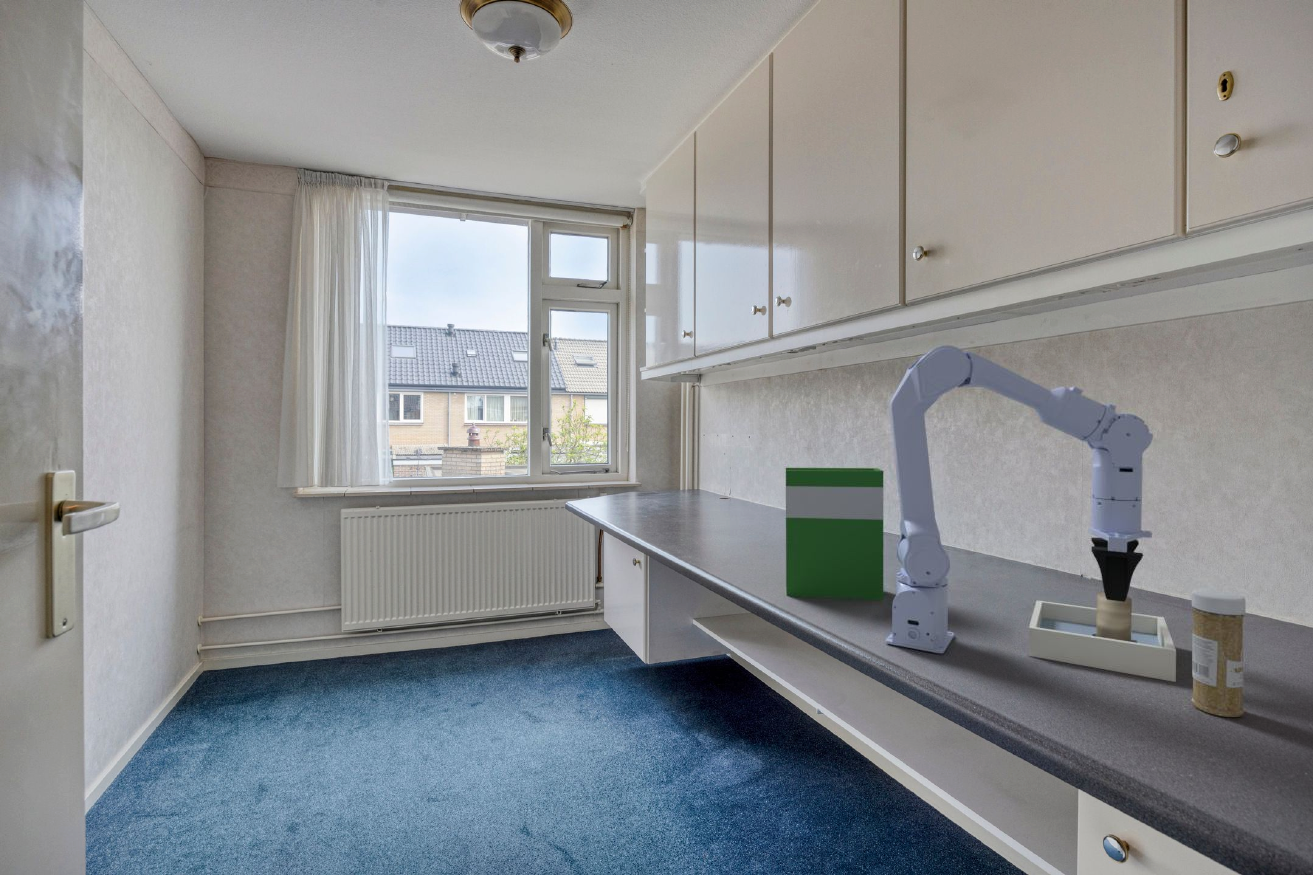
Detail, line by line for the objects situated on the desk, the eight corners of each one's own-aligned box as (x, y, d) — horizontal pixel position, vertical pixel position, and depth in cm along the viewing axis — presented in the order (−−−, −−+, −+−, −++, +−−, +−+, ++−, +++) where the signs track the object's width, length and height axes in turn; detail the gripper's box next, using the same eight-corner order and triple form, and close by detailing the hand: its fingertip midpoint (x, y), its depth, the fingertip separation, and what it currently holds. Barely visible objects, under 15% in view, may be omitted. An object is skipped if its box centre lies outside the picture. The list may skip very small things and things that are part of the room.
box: (1175, 681, 79) (1176, 650, 79) (1028, 655, 88) (1028, 627, 88) (1163, 644, 92) (1163, 617, 92) (1036, 624, 101) (1036, 600, 101)
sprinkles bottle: (1252, 721, 68) (1254, 600, 68) (1200, 714, 70) (1202, 596, 70) (1231, 703, 73) (1233, 589, 72) (1183, 697, 74) (1184, 585, 74)
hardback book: (786, 595, 119) (786, 470, 119) (786, 585, 127) (785, 467, 126) (883, 599, 116) (883, 471, 115) (877, 589, 123) (877, 468, 123)
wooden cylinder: (1129, 660, 86) (1130, 602, 86) (1094, 653, 89) (1095, 597, 88) (1132, 651, 89) (1132, 596, 89) (1098, 645, 92) (1098, 591, 91)
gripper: (1156, 506, 80) (1155, 611, 80) (1148, 495, 92) (1146, 586, 92) (1090, 502, 84) (1088, 602, 84) (1089, 492, 96) (1088, 579, 96)
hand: (1114, 593), depth 89 cm, fingers open, 7 cm apart
